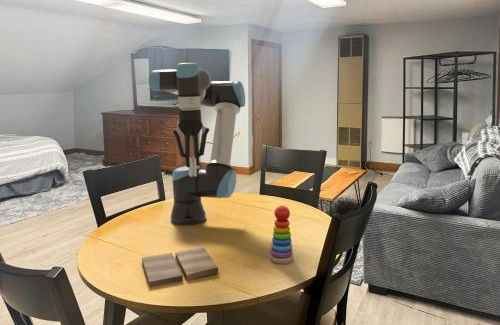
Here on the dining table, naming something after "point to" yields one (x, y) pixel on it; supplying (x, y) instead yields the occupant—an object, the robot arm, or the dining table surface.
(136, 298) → the dining table surface
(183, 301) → the dining table surface
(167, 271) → the panel
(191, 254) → the plank
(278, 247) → the stacking toy
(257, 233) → the dining table surface
